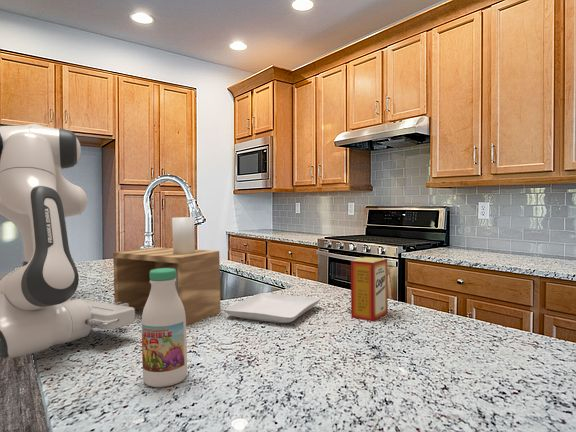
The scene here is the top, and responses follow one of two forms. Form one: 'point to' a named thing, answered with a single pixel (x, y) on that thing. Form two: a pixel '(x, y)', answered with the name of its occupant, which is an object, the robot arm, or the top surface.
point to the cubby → (191, 279)
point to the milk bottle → (163, 332)
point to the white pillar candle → (183, 235)
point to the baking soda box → (369, 288)
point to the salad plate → (272, 307)
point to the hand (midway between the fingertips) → (125, 305)
